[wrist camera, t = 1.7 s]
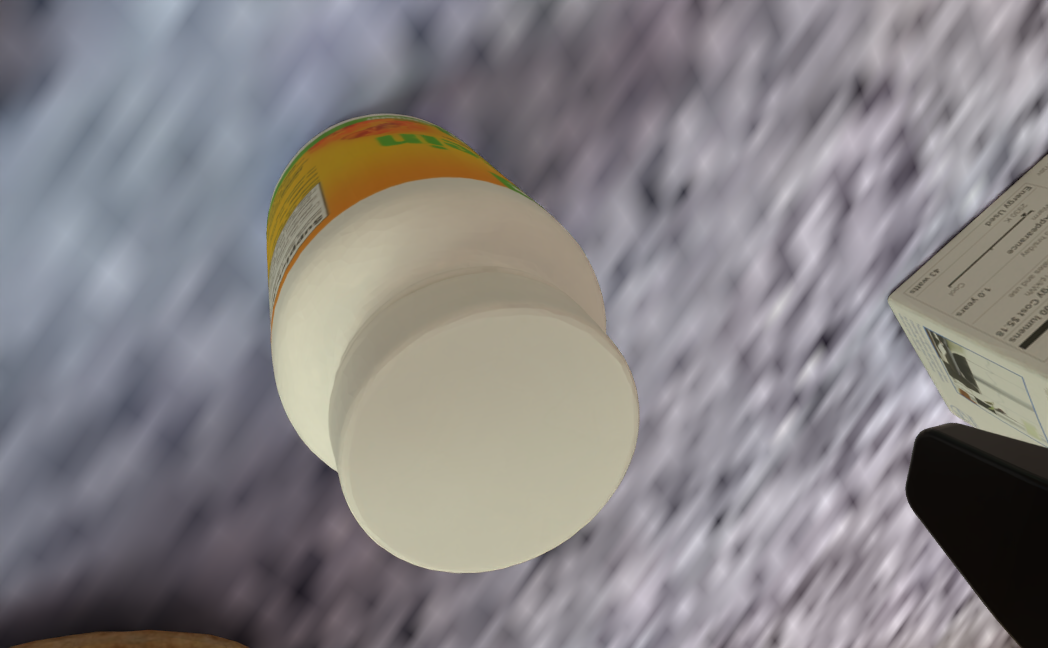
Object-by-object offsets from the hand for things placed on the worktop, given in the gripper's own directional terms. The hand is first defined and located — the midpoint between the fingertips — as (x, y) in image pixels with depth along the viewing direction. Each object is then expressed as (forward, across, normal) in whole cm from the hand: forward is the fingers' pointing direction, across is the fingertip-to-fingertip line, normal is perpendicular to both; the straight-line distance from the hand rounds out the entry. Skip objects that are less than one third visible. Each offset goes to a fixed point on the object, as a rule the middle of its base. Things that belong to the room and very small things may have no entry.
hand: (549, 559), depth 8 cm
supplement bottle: (+12, 0, 0) cm, 12 cm away
